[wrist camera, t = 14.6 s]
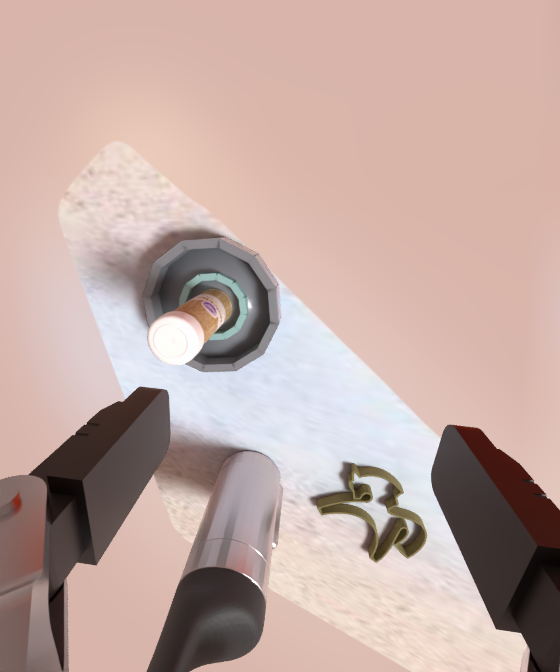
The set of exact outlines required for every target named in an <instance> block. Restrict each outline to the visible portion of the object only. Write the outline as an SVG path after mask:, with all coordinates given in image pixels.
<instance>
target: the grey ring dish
mask: <svg viewBox="0 0 560 672" xmlns="http://www.w3.org/2000/svg"><path fill="white" fill-rule="evenodd" d="M208 289H218V290H221V291H223V292H225V293H226V294H227V295H228V297H229V298H230V301H231V303H232V313H231V315H230V317H229V318H228V319H227V320H226V321H225V322H224V323H223V324H222V325H221V326H220V327H219V328H218V329H217V331H216V332H215V333H214V334H213V335H212V336H211V337H210V338H209V339H208V340H207V342H205V343H204V344H203V347H202V349H201V350H200V351H199V353H198V354H197V355H196V356H195V357H194V358H193V359H192V360H190V361H189V362H187V363H185V364H186V365H189V366H191V367H193V368H195V369H197V370H199V371H201V372H225V371H237V370H239V369H240V368H242V367H244V366H245V365H247V364H249V363H250V362H252V361H253V360H255V359H257V358H258V357H260V356H262V355H263V354H264V353H265V351H266V349H267V347H268V345H269V343H270V341H271V339H272V337H273V335H274V333H275V331H276V329H277V327H278V325H279V323H280V319H281V309H280V295H279V284H278V282H277V280H276V279H275V277H274V276H273V274H272V273H271V271H270V270H269V268H268V267H267V265H266V264H265V262H264V261H263V260H262V258H261V257H260V255H259V254H258V253H256V252H254V251H252V250H250V249H248V248H246V247H244V246H243V245H241V244H239V243H237V242H235V241H233V240H231V239H229V238H227V237H221V238H207V239H193V240H183V241H180V242H179V243H178V244H177V245H175V246H174V247H173V248H171V249H170V250H169V251H168V252H166V253H165V254H164V255H162V256H161V257H160V258H158V259H157V260H156V261H155V262H154V263H153V265H152V268H151V271H150V274H149V277H148V280H147V283H146V286H145V289H144V292H143V296H142V297H143V301H144V306H145V311H146V316H147V321H148V326H149V328H150V326H151V324H152V323H153V322H154V321H155V320H156V319H158V318H159V317H161V316H162V315H164V314H166V313H168V312H171V311H175V310H176V309H177V308H178V307H179V306H181V305H183V304H184V303H186V302H188V301H189V300H191V299H193V298H194V297H196V296H198V295H200V294H201V293H202V292H204V291H205V290H208Z"/></svg>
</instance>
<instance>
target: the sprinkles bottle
mask: <svg viewBox="0 0 560 672" xmlns="http://www.w3.org/2000/svg"><path fill="white" fill-rule="evenodd" d="M231 313H232V303H231V301H230V298H229V297H228V295H227V294H226V293H225V292H223V291H221V290H218V289H208V290H205V291H204V292H202V293H201V294H200V295H198V296H196V297H194V298H193V299H191V300H189V301H188V302H186V303H184V304H183V305H181V306H179V307H178V308H177V309H176V310H175V311H171V312H168V313H166V314H164V315H162V316H161V317H159V318H158V319H156V320H155V321H154V322H153V323H152V324H151V326H150V328H149V330H148V336H147V339H148V344H149V347H150V349H151V351H152V352H153V354H154V355H155V356H156V357H157V358H158V359H160V360H161V361H163V362H165V363H167V364H171V365H181V364H185V363H187V362H189V361H190V360H192V359H193V358H194V357H195V356H196V355H197V354H198V353H199V351H200V350H201V349H202V347H203V344H204V343H205V342H207V340H208V339H209V338H210V337H211V336H212V335H213V334H214V333H215V332H216V331H217V329H218V328H219V327H220V326H221V325H222V324H223V323H224V322H225V321H226V320H227V319H228V318H229V317H230V315H231Z"/></svg>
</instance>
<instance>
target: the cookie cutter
mask: <svg viewBox="0 0 560 672" xmlns="http://www.w3.org/2000/svg"><path fill="white" fill-rule="evenodd" d="M354 473H356V474H357V475H358V477H359V478H361V477H366V476H375V477H380V478H383V479H385V480H387V481H389V482H391V483H392V484H393V485H395V486H394V487H393V493H394V496H392V497H390V498H388V499H386V500H385V504H386V508H387V511H388V513H389V514H391V515H393V516H396V517H400V518H399V519H397V521H396V522H395V524H394V526H393V528H392V530H391V532H390V534H389V535H388V537H387V539H386V540H385V541H384V543H383V544H382V545H381V546H380V547H379V548H378V549H377V546H378V534H377V530H376V525H375V522H374V520H373V518H372V517H371V516H370V515H369V514H368V513H367V512H366V511H364V510H363V509H361V508H359V507H356V506H353V505H349V504H340V503H347V502H365V503H368V502H370V501H371V500H372V499H373V496H372V492H371V488H370V486H369V485H367V484H363V485H361V486H360V487H359V488H358V490H354V486H353V482H352V481H354ZM347 478H348V484H349V488H350V489H351V490H352V492H347V493H340V494H335V495H330V496H326V497H323V498H320V499H317V509H318V510H319V512H320V514H321V515H326V514H349V515H354V516H357V517H359V518H362V519H363V520H365V521H367V522H368V523H369V524H370V525H371V526H372V527H373V529H374V531H375V532H374V538H373V540H372V543H371V544H370V546H369V547H368V552H369V558H370V559H372V560H373V561H374V562H378V561H380V560H381V559H382V558H383V557H384V556H385V555H386V554H387V553H388V551H389V550H390V549H391V547H392V545H393V544H394V542H395V545H396V547H397V549H398V550H399V551H400V553H401V554H402V555H404V556H405V557H406V558H410V557H411V556H413V555H414V554H416V553H417V552H418V551H419V550H420V549H421V548H422V547H423V546H424V544H425V542H426V539H427V533H426V530H425V527H424V525H423V522H422V520H421V518H420V517H419V516H418V515H417V514H415V513H414V512H412V511H409V510H406V509H403V508H399V507H396V506H398V504H399V503H398V500H397V497H398V496H399V495H401V494H403V493H404V492H403V489H402V486H401V484H400V483H399V482H398V480H397V479H396V478H395V477H394V476H392V475H391V474H390V473H388V472H387V471H385V470H383V469H380V468H376V467H361V468H358V467H357V466H356V465H355V464H354V463H352V464H351V472H350V473H349V474H348V475H347ZM403 518H404V519H403ZM405 519H407V520H411V521H413V522H415V523H417V524H419V525H420V526H421V532H420V534H419V536H418V537H417V538H416V539H415V540H414V541H413V542H412V543H411V544H409V545H408V546H406V547H404V546H403V545H402V544H400V543H401V542H402V541H403V540H404V539H405V538H406V537H407V536H408V533H409V531H408V528H407V524H406V521H405ZM376 549H377V550H376Z"/></svg>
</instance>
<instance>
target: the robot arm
mask: <svg viewBox="0 0 560 672" xmlns="http://www.w3.org/2000/svg"><path fill="white" fill-rule="evenodd" d="M169 442H170V411H169V395H168V392H167V390H164V389H156V388H148V387H139V388H137V389H136V390H135V391H134V392H133V393H132V394H131V395H130V396H129V397H128V398H127V399H126V400H125V401H124V402H119V401H118V402H116V403H114V404H112V405H110V406H108V407H106V408H104V409H102V410H100V411H99V412H98V413H97V414H96V415H95V416H93V417H92V418H91V419H90V420H89V421H88V422H87V424H86V425H84V426H82V427H81V428H80V429H79V430H78V431H77V432H76V434H75V435H72V436H71V437H70V438H69V439H68V440H67V441H66V442H64V443H63V444H62V445H61V446H60V447H59V448H58V449H57V450H55V451H54V452H53V453H52V454H51V455H50V456H49V457H48V458H47V459H45V460H44V461H43V462H42V463H41V464H40V465H39V466H38V467H36V468H35V469H34V470H33V471H32V472H31V473H30V474H29V475H19V476H12V477H8V478H4V479H1V480H0V672H69V671H68V670H69V668H68V593H67V592H68V588H67V580H66V577H67V576H68V575H69V573H70V571H71V570H72V569H73V567H74V566H75V564H76V563H77V562H78V563H84V564H91V565H97V563H98V562H99V560H100V559H101V557H102V555H103V554H104V552H105V551H106V549H107V547H108V546H109V544H110V543H111V541H112V539H113V538H114V536H115V535H116V533H117V531H118V530H119V528H120V527H121V525H122V523H123V522H124V520H125V519H126V517H127V515H128V514H129V512H130V511H131V509H132V507H133V506H134V504H135V503H136V501H137V499H138V498H139V496H140V494H141V493H142V491H143V490H144V488H145V487H146V485H147V483H148V482H149V480H150V479H151V477H152V475H153V474H154V472H155V471H156V469H157V467H158V466H159V464H160V463H161V461H162V459H163V458H164V456H165V454H166V452H167V450H168V446H169ZM431 482H432V488H433V491H434V494H435V496H436V498H437V500H438V503H439V505H440V507H441V509H442V511H443V514H444V516H445V518H446V520H447V522H448V524H449V527H450V529H451V531H452V533H453V535H454V538H455V540H456V542H457V544H458V546H459V549H460V551H461V553H462V555H463V557H464V560H465V562H466V564H467V566H468V568H469V571H470V573H471V575H472V577H473V579H474V582H475V584H476V586H477V588H478V590H479V593H480V595H481V597H482V599H483V601H484V604H485V606H486V608H487V610H488V612H489V615H490V617H491V619H492V621H493V623H494V626H495V628H496V629H498V630H505V631H511V632H518V633H521V634H522V635H523V637H524V639H525V641H526V643H527V645H528V646H527V648H526V650H525V651H524V653H523V657H522V662H521V669H520V672H560V510H559V509H558V508H557V507H556V505H555V504H554V503H553V502H552V501H551V500H550V499H548V498H547V497H546V494H545V493H544V491H542V489H541V488H540V487H539V486H538V485H537V484H534V480H533V479H532V478H531V476H530V475H529V474H528V473H527V472H526V471H525V469H524V468H523V467H522V466H521V465H520V464H519V463H518V462H516V461H515V460H514V459H512V458H511V457H509V456H508V455H507V454H505V453H504V452H503V451H501V450H500V449H496V447H495V446H494V445H493V444H492V442H491V441H490V440H489V439H488V438H487V436H486V435H485V434H484V433H483V432H482V430H480V429H479V428H474V427H465V426H457V425H447V426H446V427H445V429H444V431H443V434H442V438H441V441H440V444H439V447H438V451H437V454H436V457H435V461H434V464H433V467H432V472H431ZM282 495H283V488H282V486H281V485H280V473H279V470H278V468H277V466H276V465H275V463H274V462H273V461H272V460H271V459H269V458H268V457H266V456H265V455H263V454H260V453H257V452H252V451H242V452H237V453H235V454H232V455H231V456H229V457H228V458H227V459H226V460H225V461H224V463H223V465H222V466H221V469H220V472H219V475H218V477H217V480H216V483H215V485H214V488H213V491H212V494H211V496H210V499H209V502H208V505H207V507H206V510H205V513H204V516H203V518H202V521H201V524H200V527H199V529H198V532H197V535H196V538H195V540H194V543H193V546H192V549H191V552H190V555H189V557H188V560H187V563H186V566H185V569H184V571H183V574H182V576H181V579H180V582H179V585H178V587H177V590H176V593H175V596H174V598H173V601H172V604H171V607H170V610H169V613H168V616H167V619H166V622H165V625H164V627H163V631H162V633H161V636H160V638H159V641H158V644H157V646H156V649H155V652H154V654H153V657H152V660H151V662H150V664H149V667H148V670H147V672H190V671H192V670H193V669H195V668H197V667H200V666H203V665H207V664H212V663H218V662H224V661H230V660H234V659H237V658H240V657H242V656H244V655H246V654H247V653H249V652H250V651H251V650H252V649H253V648H254V647H255V646H256V645H257V643H258V642H259V640H260V637H261V635H262V632H263V626H264V619H265V610H266V600H267V592H268V583H269V573H270V564H271V556H272V549H274V548H276V547H277V544H278V535H279V525H280V515H281V505H282Z"/></svg>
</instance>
